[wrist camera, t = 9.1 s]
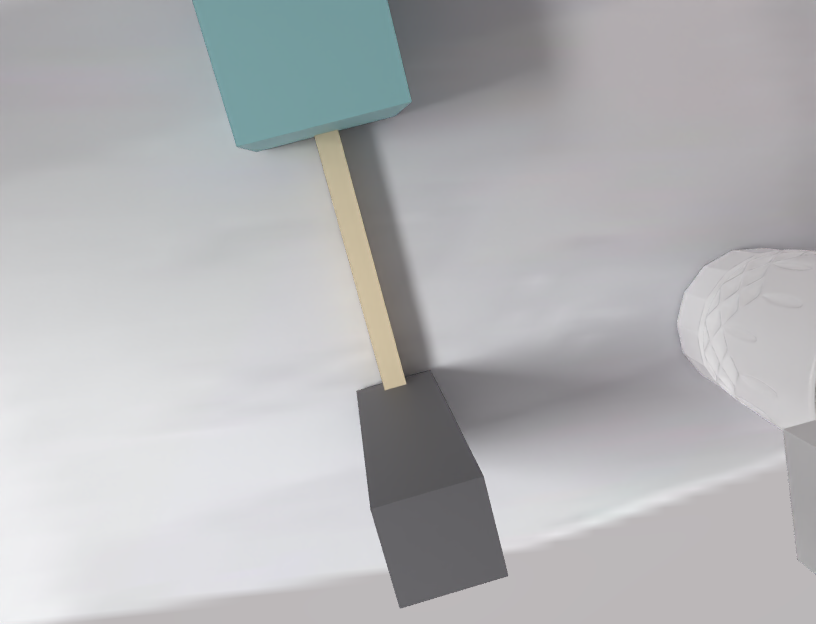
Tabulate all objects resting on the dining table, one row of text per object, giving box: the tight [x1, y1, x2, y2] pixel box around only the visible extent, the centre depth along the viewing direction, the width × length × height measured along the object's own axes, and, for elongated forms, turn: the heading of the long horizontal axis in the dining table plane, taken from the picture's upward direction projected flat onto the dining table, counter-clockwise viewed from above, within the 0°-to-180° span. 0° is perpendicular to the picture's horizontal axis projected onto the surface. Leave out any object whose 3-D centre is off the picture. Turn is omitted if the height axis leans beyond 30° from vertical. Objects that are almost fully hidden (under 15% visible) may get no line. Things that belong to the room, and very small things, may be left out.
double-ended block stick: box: [192, 0, 508, 608], centre depth 24 cm, size 6×21×11 cm, turn 14°
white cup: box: [677, 248, 816, 431], centre depth 27 cm, size 8×8×10 cm
